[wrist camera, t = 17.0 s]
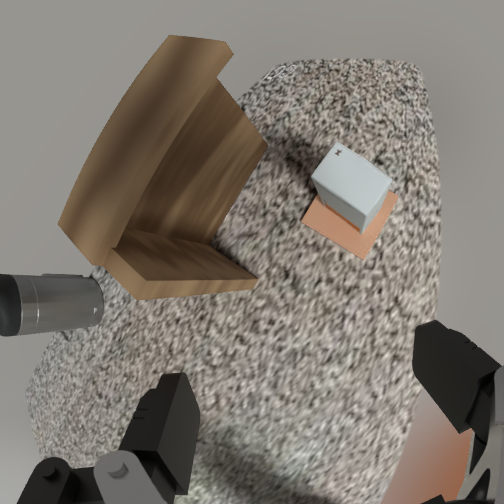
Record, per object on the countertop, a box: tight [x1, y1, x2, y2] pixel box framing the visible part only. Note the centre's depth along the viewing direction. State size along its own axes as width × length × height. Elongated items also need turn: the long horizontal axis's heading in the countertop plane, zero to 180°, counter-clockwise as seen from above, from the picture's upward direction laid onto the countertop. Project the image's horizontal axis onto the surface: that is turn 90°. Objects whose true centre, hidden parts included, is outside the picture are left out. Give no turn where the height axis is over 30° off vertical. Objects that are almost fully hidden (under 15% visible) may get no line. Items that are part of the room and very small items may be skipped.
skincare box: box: [311, 141, 393, 234], centre depth 29 cm, size 6×4×12 cm
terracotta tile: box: [301, 190, 399, 260], centre depth 35 cm, size 9×9×1 cm
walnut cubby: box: [58, 35, 268, 300], centre depth 28 cm, size 10×18×23 cm, turn 147°
